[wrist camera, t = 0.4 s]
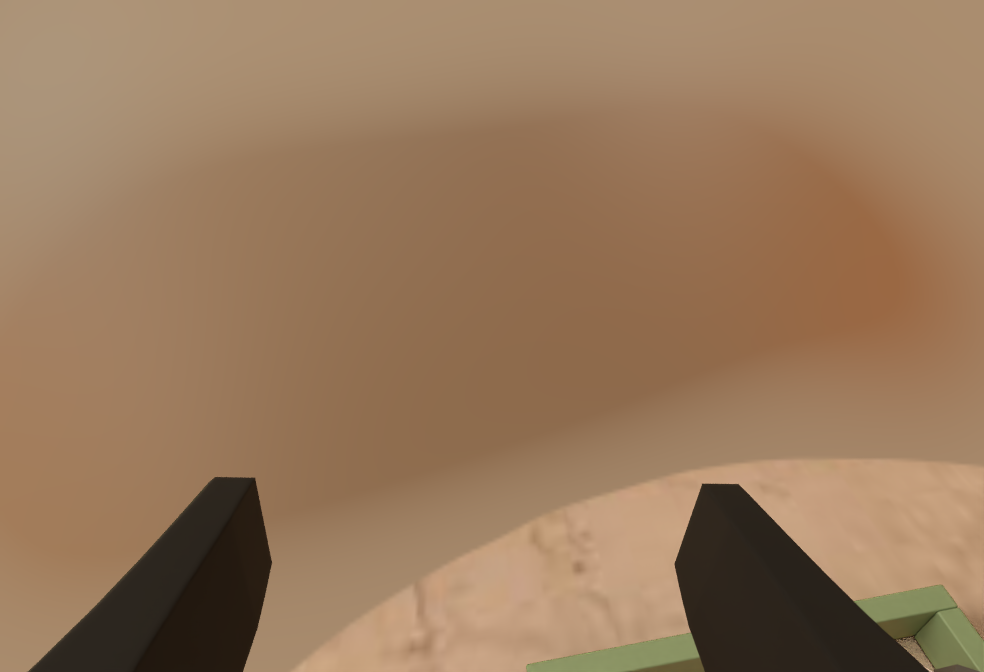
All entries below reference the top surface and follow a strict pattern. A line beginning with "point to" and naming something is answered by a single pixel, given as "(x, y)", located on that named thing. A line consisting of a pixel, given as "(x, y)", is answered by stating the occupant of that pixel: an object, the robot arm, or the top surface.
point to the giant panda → (953, 669)
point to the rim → (921, 612)
